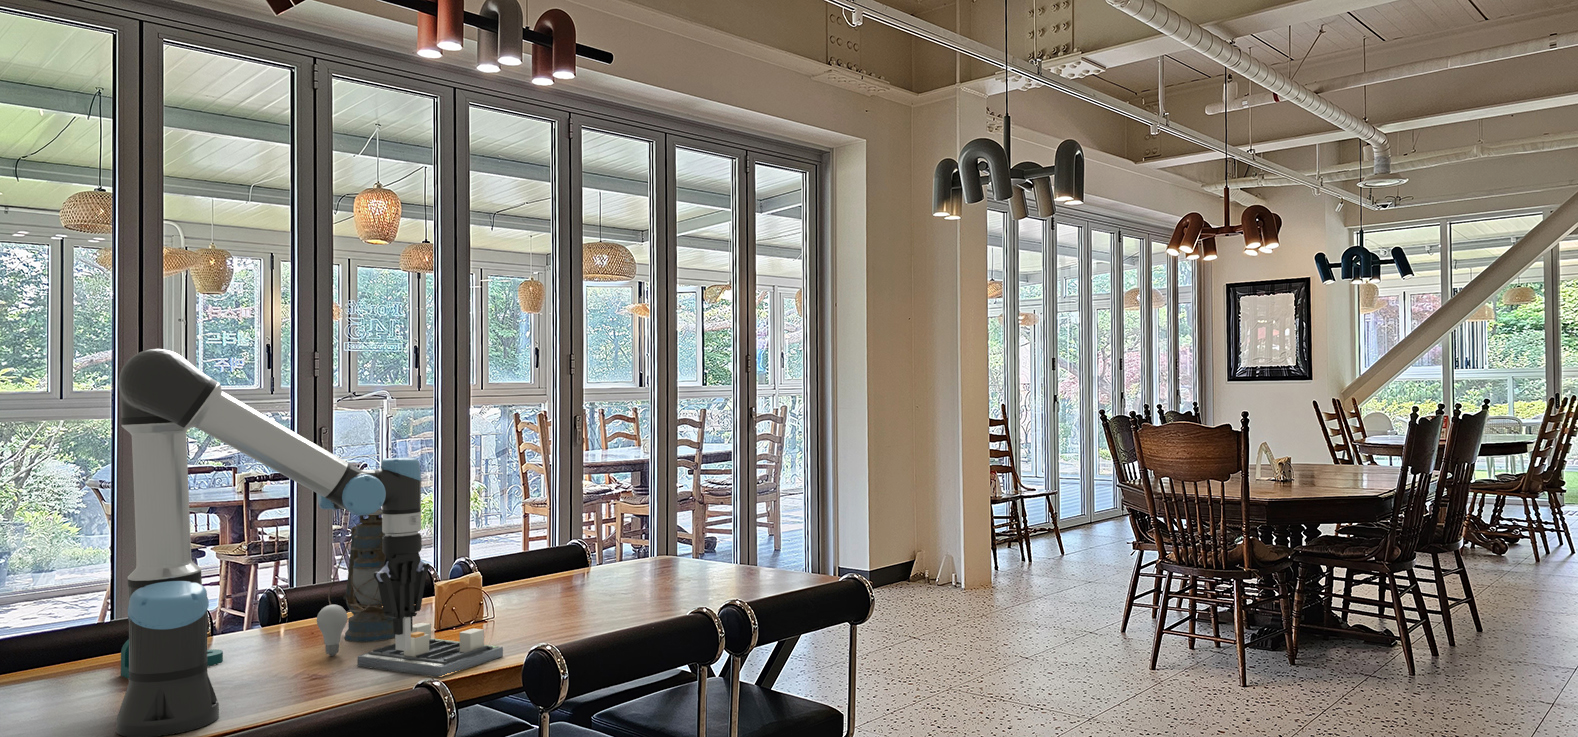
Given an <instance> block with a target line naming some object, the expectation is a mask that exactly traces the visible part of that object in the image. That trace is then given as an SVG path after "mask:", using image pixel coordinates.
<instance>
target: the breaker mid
mask: <svg viewBox="0 0 1578 737" xmlns="http://www.w3.org/2000/svg"><path fill="white" fill-rule="evenodd" d="M426 652H429V635H428V634H424V632H414V633H411V649H410V650H407V651H404V655H405V656H413V657H416V655H419V654H422V653H426Z"/></svg>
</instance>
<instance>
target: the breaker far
mask: <svg viewBox="0 0 1578 737" xmlns="http://www.w3.org/2000/svg"><path fill="white" fill-rule="evenodd" d="M414 632H424V634H428V635H429V640H431V638H432V623H428V622H427V623H425V622H419V623H415V624H413V629H412V631H411V633H414Z"/></svg>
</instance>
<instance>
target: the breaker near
mask: <svg viewBox="0 0 1578 737" xmlns="http://www.w3.org/2000/svg"><path fill="white" fill-rule="evenodd" d="M459 642H460V652H467V651H470V650H473V649H477V648H480V647H483V646H484V645H485V629H483V628H482V629H481V628H469V629H466V630H463V631H460V632H459Z"/></svg>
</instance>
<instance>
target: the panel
mask: <svg viewBox="0 0 1578 737" xmlns="http://www.w3.org/2000/svg"><path fill="white" fill-rule="evenodd" d="M502 657H504V647H503V646H499V645H490V644H484V646H483V647H480V648H477V649H473V650H470V651H467V652H460V641H458V640H457V641H456V640H448V639H439V638H433V637H431V640H429V652H426V653H422V654H419V655H416V657H413V656H405V655H404V651H402V650H396V643H392V644H389V645H386V646H383V647H378V648H376V649H373V650H371V651H368V652H367V653H363V654H359V655H357V656H356V659H357V662H356V664H357V665H356V666H358V667H363V668H371V669H377V670H384V671H390V672H400V673H405V674H406V673H407V674H411V675H412V674H414V675H419V676H420V675H422V676H429V677H435V678H439V677H438V676H442V675H445V674H447V673H451V672H455V671H459V670H462V669H464V670H466V668H467V669H470V668H473V667H477V666H478V665H481V664H485V663H487V662H490V661H493V660H496V659H499V658H502ZM469 667H470V668H469ZM462 671H463V670H462ZM459 672H460V671H459Z"/></svg>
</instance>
